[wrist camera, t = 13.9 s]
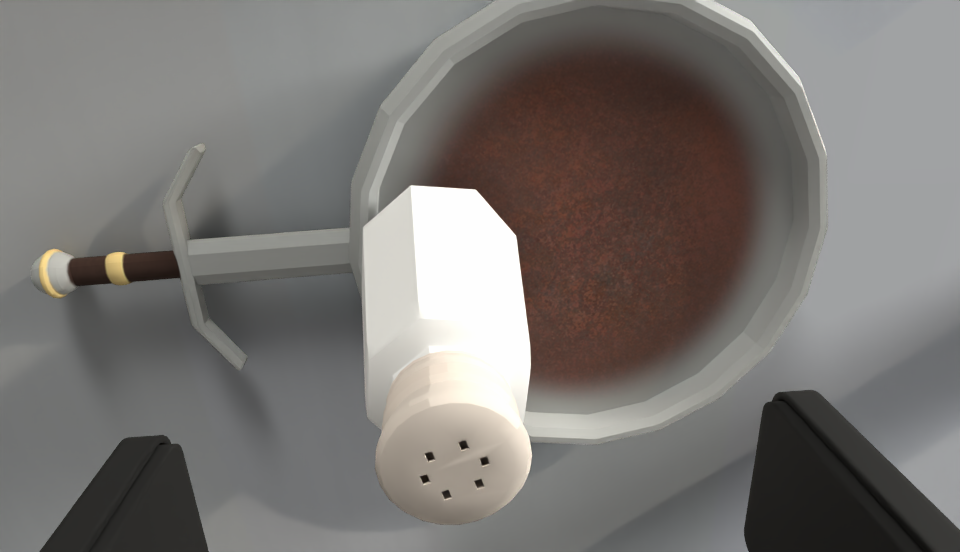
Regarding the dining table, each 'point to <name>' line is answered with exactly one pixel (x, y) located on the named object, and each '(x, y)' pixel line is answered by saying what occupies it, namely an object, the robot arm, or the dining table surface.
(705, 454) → the dining table surface
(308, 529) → the dining table surface
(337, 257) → the frying pan
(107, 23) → the dining table surface
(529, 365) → the pepper shaker
